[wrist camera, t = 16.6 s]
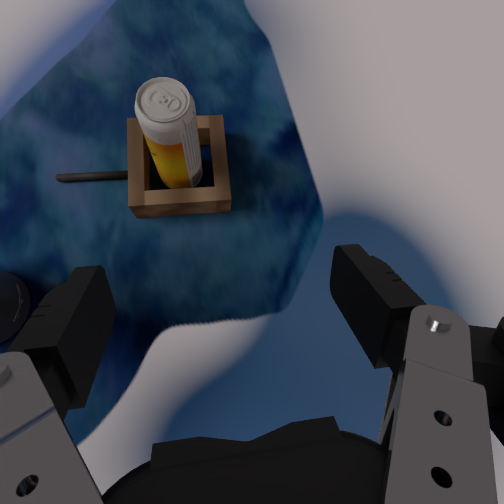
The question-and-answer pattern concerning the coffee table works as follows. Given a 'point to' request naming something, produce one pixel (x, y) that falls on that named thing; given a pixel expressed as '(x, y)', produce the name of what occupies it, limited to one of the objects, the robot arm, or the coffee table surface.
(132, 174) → the walnut collar
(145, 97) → the soda can
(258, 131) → the coffee table surface
